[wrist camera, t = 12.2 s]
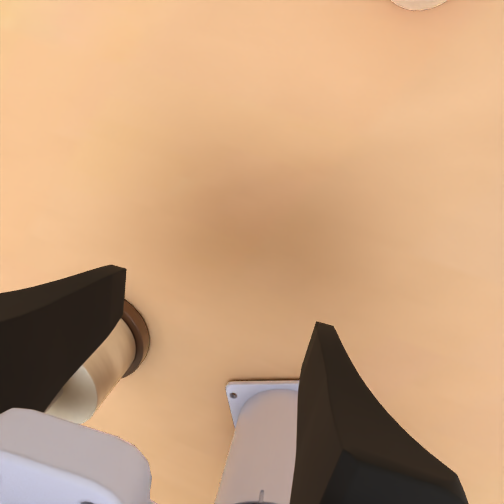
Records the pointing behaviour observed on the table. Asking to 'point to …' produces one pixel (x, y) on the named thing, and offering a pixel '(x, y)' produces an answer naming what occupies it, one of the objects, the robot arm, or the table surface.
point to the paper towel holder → (103, 369)
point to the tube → (418, 4)
